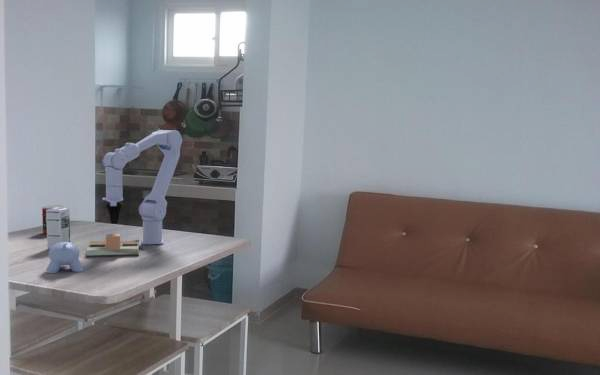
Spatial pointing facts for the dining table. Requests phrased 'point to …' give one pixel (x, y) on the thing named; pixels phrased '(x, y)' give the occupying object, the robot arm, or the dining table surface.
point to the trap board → (125, 249)
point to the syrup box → (57, 226)
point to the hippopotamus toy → (64, 257)
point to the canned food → (45, 215)
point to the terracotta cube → (112, 241)
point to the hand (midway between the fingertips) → (114, 223)
